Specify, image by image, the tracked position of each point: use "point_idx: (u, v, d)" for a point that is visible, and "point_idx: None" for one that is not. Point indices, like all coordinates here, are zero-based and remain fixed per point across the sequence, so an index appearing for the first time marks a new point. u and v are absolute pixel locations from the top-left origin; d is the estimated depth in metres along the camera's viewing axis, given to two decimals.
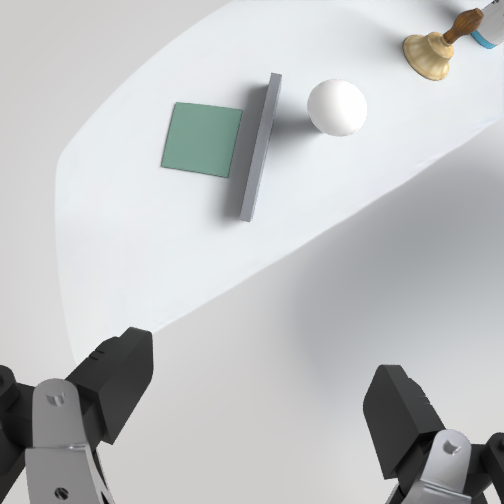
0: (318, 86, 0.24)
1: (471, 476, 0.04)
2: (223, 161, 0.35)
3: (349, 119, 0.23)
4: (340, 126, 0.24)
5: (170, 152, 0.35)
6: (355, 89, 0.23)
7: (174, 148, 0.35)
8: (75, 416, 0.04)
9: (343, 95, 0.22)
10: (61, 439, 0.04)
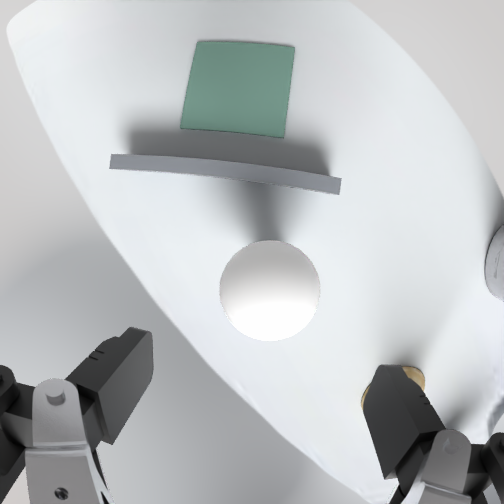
0: (299, 261, 0.15)
1: (471, 476, 0.04)
2: (202, 119, 0.23)
3: (236, 316, 0.15)
4: (224, 300, 0.16)
5: (216, 48, 0.21)
6: (296, 327, 0.15)
7: (222, 52, 0.21)
8: (75, 416, 0.04)
9: (275, 310, 0.14)
10: (61, 439, 0.04)
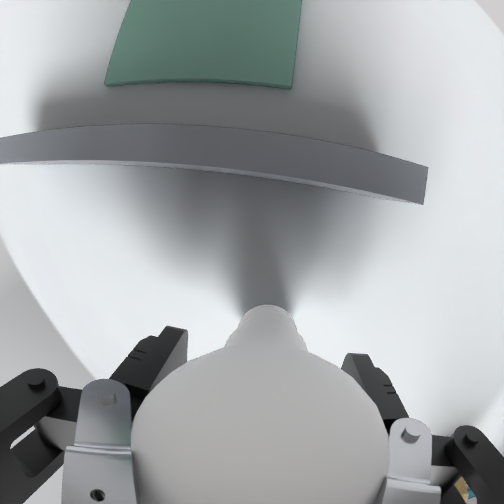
0: (354, 453, 0.03)
1: (433, 468, 0.04)
2: (140, 65, 0.10)
3: None
4: None
5: None
6: None
7: None
8: (131, 415, 0.05)
9: None
10: (106, 440, 0.04)
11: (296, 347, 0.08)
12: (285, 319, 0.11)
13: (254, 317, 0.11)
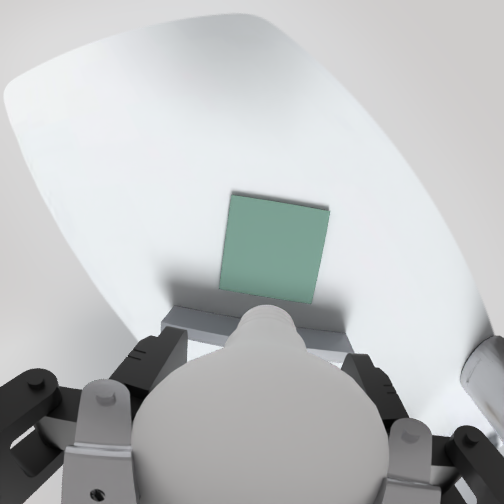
0: (354, 453, 0.03)
1: (433, 468, 0.04)
2: (239, 283, 0.27)
3: None
4: None
5: (252, 207, 0.26)
6: None
7: (257, 213, 0.26)
8: (131, 415, 0.05)
9: None
10: (106, 440, 0.04)
11: (295, 347, 0.08)
12: (284, 320, 0.11)
13: (254, 317, 0.11)
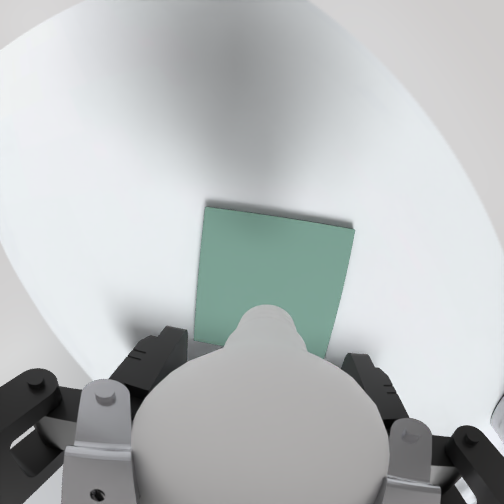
0: (354, 453, 0.03)
1: (433, 468, 0.04)
2: (222, 334, 0.18)
3: None
4: None
5: (237, 225, 0.17)
6: None
7: (245, 234, 0.17)
8: (131, 415, 0.05)
9: None
10: (106, 440, 0.04)
11: (296, 347, 0.08)
12: (284, 319, 0.11)
13: (254, 317, 0.11)
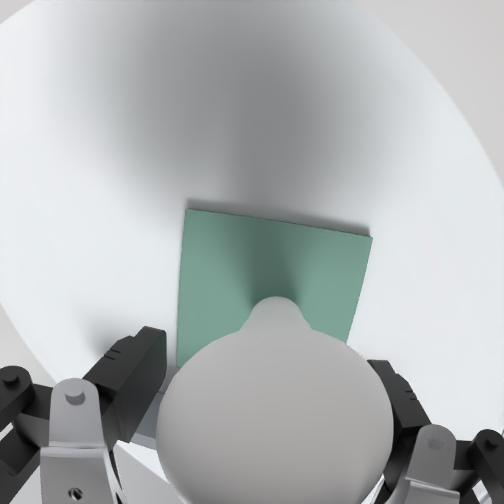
0: (362, 411, 0.04)
1: (457, 473, 0.04)
2: None
3: None
4: (166, 476, 0.05)
5: (225, 232, 0.13)
6: None
7: (236, 244, 0.13)
8: (97, 415, 0.05)
9: None
10: (78, 439, 0.04)
11: None
12: (292, 309, 0.12)
13: (265, 308, 0.12)
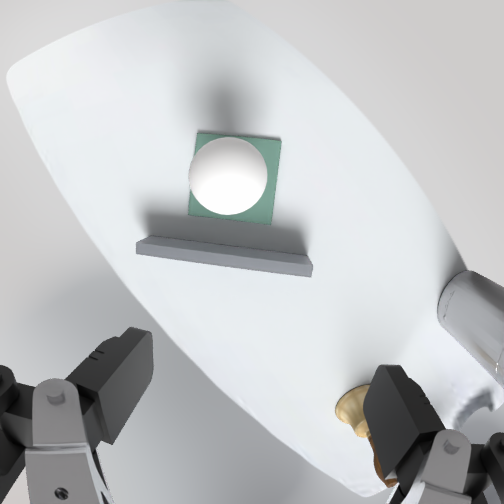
0: (246, 144, 0.20)
1: (471, 476, 0.04)
2: (206, 208, 0.30)
3: (199, 186, 0.20)
4: (191, 177, 0.20)
5: None
6: (246, 192, 0.20)
7: None
8: (75, 416, 0.04)
9: (227, 173, 0.19)
10: (61, 439, 0.04)
11: None
12: None
13: None
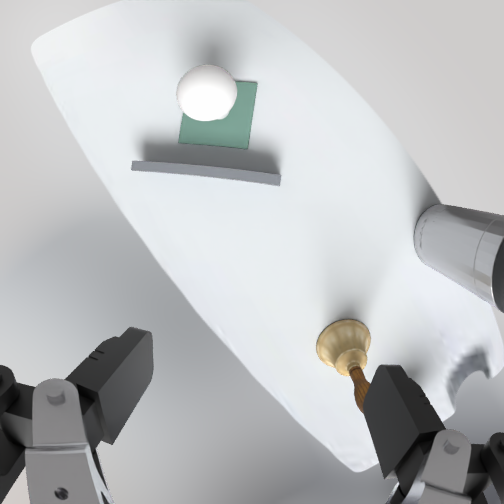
0: (219, 67, 0.23)
1: (471, 476, 0.04)
2: (193, 137, 0.34)
3: (182, 94, 0.23)
4: (177, 90, 0.24)
5: None
6: (217, 96, 0.23)
7: None
8: (75, 416, 0.04)
9: (203, 82, 0.22)
10: (61, 439, 0.04)
11: None
12: None
13: None
